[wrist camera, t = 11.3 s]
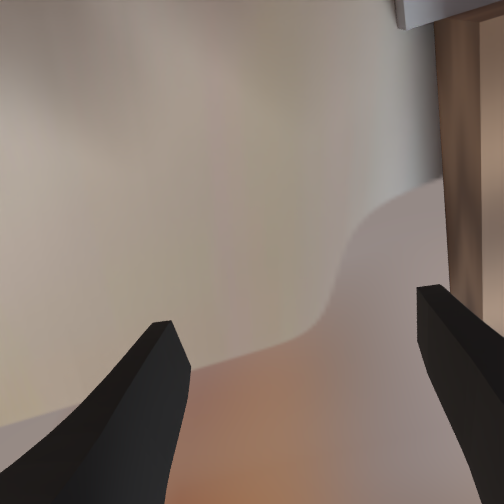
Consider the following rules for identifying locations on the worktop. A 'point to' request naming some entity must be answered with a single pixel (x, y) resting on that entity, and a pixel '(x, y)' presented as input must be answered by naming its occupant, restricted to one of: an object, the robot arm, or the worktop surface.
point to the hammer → (470, 143)
